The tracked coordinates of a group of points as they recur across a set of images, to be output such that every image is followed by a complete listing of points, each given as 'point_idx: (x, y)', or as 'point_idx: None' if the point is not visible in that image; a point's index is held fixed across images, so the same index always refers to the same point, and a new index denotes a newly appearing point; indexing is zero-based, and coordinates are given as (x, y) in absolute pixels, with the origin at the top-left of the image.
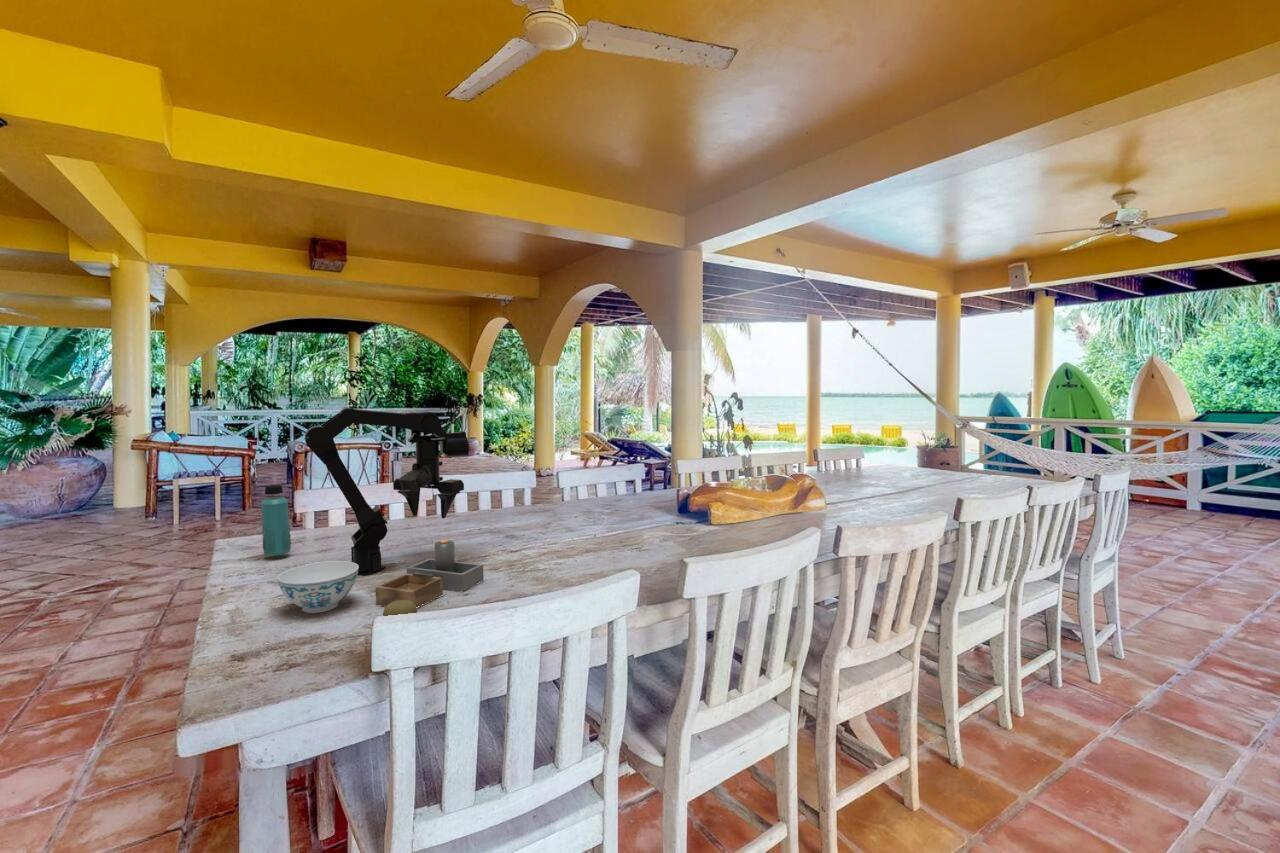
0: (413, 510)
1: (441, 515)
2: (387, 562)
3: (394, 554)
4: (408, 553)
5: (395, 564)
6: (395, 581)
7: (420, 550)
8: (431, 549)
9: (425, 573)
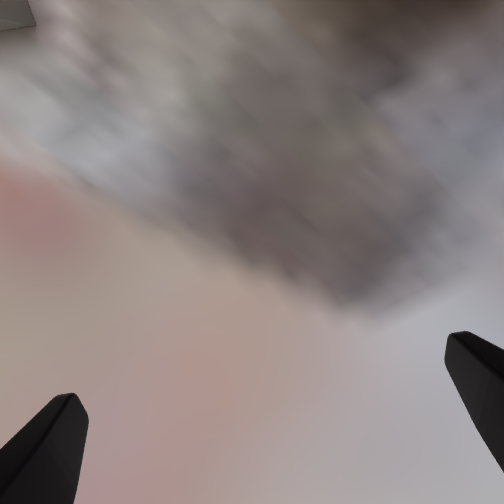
0: (496, 374)
1: (53, 416)
2: (439, 75)
3: (491, 194)
4: (434, 235)
5: (370, 70)
6: None
7: (410, 288)
8: (373, 317)
9: None
